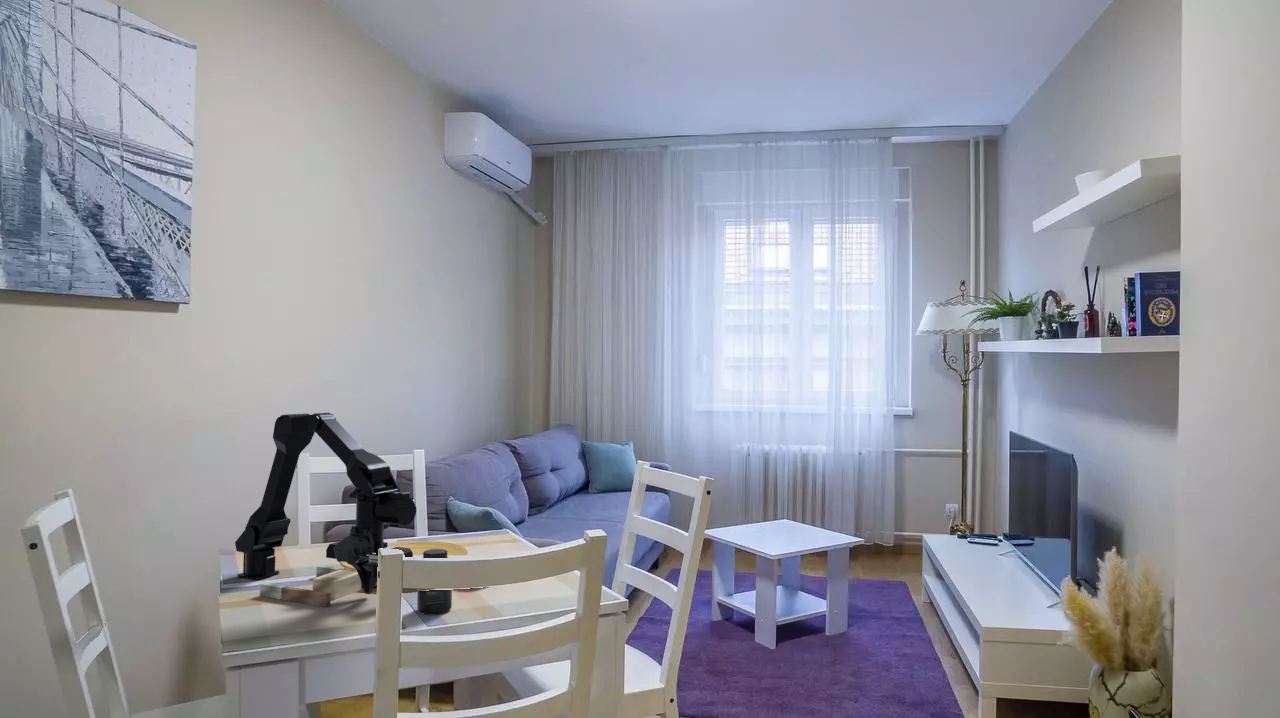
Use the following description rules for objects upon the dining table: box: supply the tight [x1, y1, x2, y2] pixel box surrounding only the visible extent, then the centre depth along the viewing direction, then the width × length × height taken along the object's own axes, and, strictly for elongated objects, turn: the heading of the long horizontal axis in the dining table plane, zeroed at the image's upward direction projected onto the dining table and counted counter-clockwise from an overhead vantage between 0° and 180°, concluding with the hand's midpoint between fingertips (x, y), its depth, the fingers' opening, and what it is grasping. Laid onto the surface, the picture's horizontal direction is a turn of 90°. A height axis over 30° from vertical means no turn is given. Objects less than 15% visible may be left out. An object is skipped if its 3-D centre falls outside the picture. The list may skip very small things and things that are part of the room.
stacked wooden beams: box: [259, 565, 377, 608], centre depth 168 cm, size 18×17×2 cm
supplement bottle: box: [416, 548, 453, 615], centre depth 156 cm, size 7×7×12 cm
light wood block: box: [312, 570, 362, 600], centre depth 166 cm, size 6×8×4 cm
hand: (368, 593), depth 163 cm, fingers closed
